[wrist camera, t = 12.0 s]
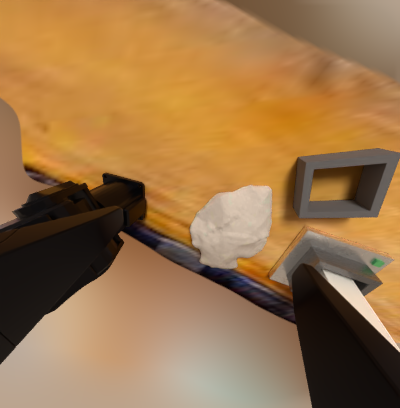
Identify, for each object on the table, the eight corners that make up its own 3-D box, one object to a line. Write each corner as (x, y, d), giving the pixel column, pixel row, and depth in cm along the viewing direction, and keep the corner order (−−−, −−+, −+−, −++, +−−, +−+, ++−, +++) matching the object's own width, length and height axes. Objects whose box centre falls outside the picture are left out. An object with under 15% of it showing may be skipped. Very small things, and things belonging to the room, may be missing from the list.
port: (268, 273, 25) (272, 294, 22) (305, 225, 20) (316, 244, 17) (332, 296, 24) (345, 321, 21) (387, 253, 19) (414, 278, 16)
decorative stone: (238, 269, 27) (294, 194, 20) (242, 289, 23) (310, 208, 17) (179, 247, 26) (217, 162, 19) (174, 266, 22) (218, 169, 16)
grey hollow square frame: (292, 207, 19) (299, 218, 17) (298, 157, 17) (306, 162, 14) (360, 205, 17) (377, 217, 15) (378, 148, 15) (401, 153, 13)
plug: (303, 272, 22) (360, 416, 11) (316, 258, 21) (396, 410, 10) (329, 281, 22) (412, 439, 11) (344, 268, 20) (458, 436, 10)
